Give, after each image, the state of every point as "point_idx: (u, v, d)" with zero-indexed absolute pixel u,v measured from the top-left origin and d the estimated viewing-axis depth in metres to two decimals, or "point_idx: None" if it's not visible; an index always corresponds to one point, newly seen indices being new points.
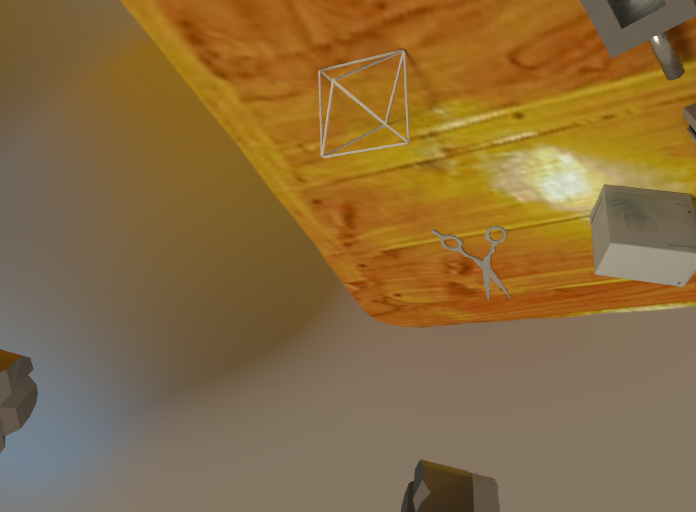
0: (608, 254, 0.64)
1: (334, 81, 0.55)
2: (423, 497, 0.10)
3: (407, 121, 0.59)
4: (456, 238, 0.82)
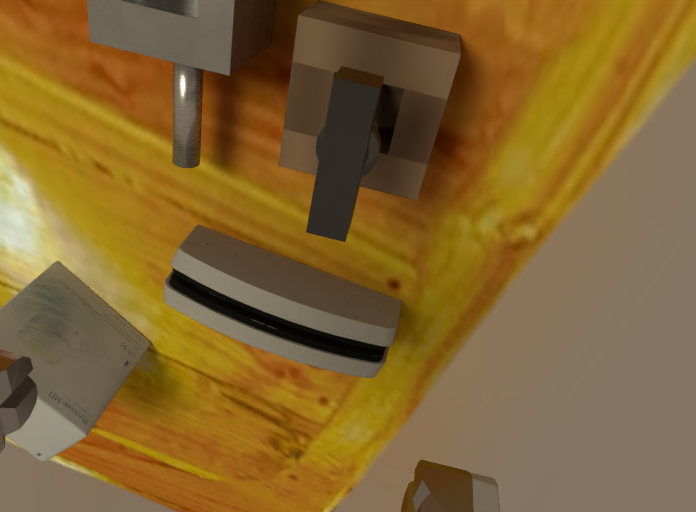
0: None
1: None
2: (423, 497, 0.10)
3: None
4: None
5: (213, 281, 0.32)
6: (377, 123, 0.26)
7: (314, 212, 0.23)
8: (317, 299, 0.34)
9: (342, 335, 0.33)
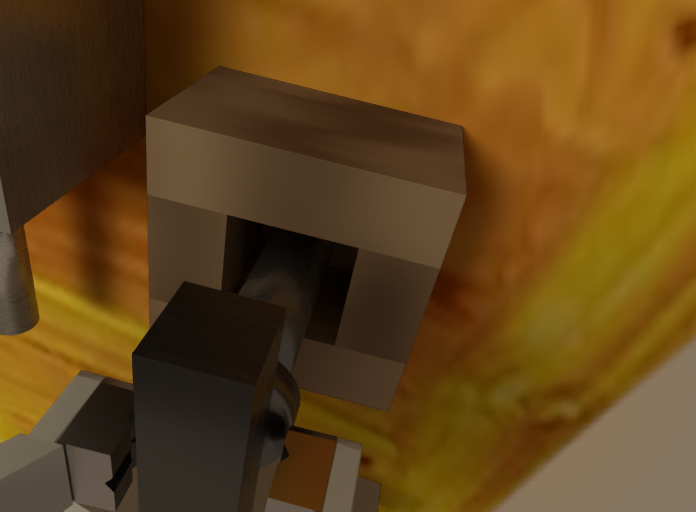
0: None
1: None
2: None
3: None
4: None
5: None
6: (304, 321, 0.13)
7: None
8: None
9: None
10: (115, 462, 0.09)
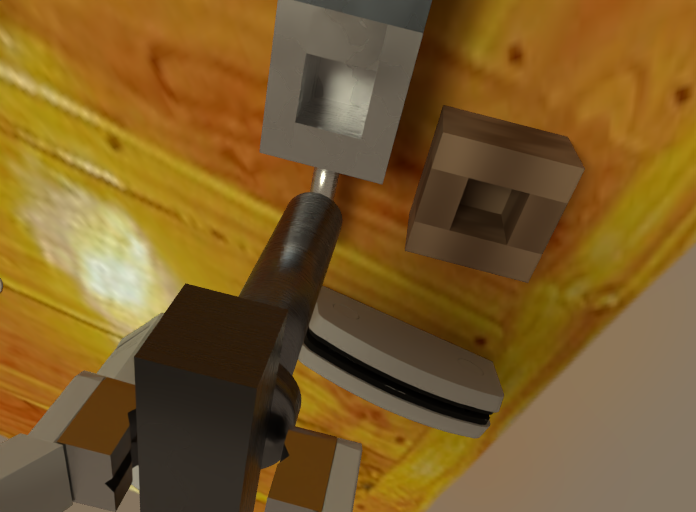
0: None
1: None
2: None
3: None
4: None
5: (353, 348, 0.36)
6: (305, 322, 0.14)
7: None
8: (438, 367, 0.38)
9: (462, 402, 0.36)
10: (114, 462, 0.09)
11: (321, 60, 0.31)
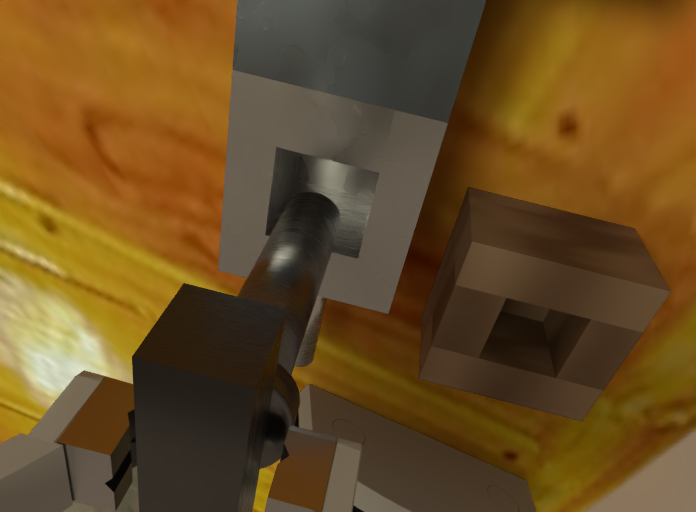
0: None
1: None
2: None
3: None
4: None
5: (357, 498, 0.27)
6: (304, 322, 0.14)
7: None
8: None
9: None
10: (115, 462, 0.09)
11: None
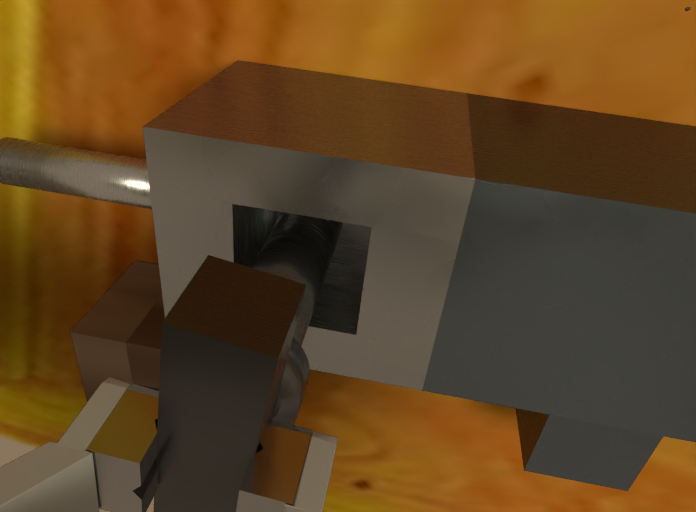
0: None
1: None
2: None
3: None
4: None
5: None
6: (314, 298, 0.14)
7: None
8: None
9: None
10: (143, 469, 0.09)
11: None
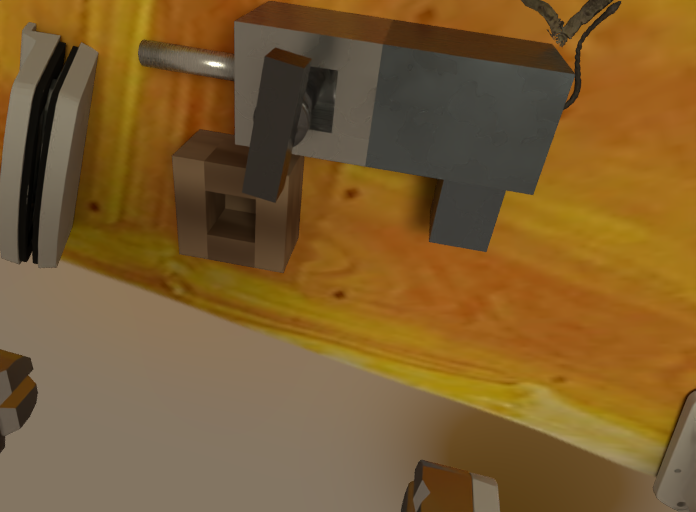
0: None
1: None
2: (423, 497, 0.10)
3: None
4: None
5: (56, 149, 0.34)
6: (312, 101, 0.29)
7: (248, 175, 0.27)
8: (63, 215, 0.39)
9: (39, 248, 0.38)
10: None
11: None
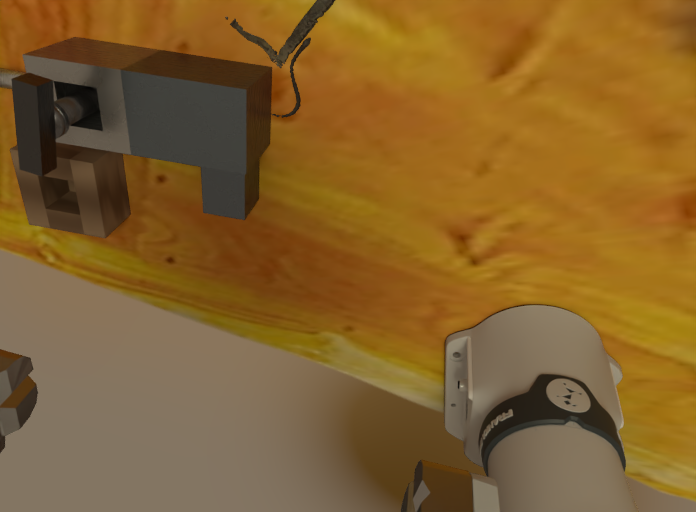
0: None
1: None
2: (423, 497, 0.10)
3: None
4: None
5: None
6: (81, 108, 0.43)
7: (21, 157, 0.40)
8: None
9: None
10: None
11: None
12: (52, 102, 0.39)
